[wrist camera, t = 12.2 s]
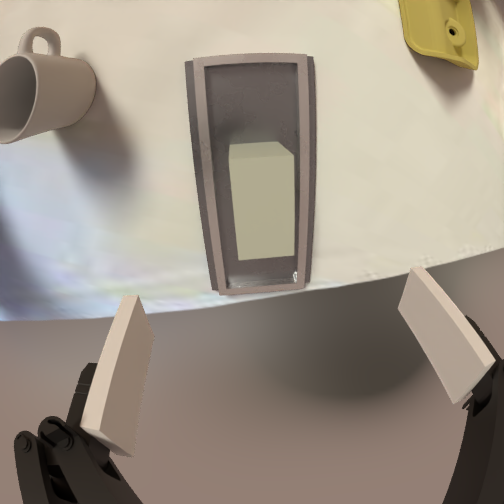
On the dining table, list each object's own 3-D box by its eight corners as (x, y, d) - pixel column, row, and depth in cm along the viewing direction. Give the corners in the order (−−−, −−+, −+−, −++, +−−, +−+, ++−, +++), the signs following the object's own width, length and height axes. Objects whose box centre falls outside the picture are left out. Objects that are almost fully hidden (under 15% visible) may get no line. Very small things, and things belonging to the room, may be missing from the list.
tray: (212, 286, 37) (211, 296, 35) (186, 62, 23) (182, 60, 21) (307, 278, 37) (311, 287, 36) (311, 57, 23) (316, 55, 21)
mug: (97, 120, 25) (40, 134, 15) (43, 132, 24) (-16, 153, 14) (100, 25, 18) (48, 4, 9) (44, 45, 18) (-14, 40, 8)
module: (237, 225, 32) (238, 263, 25) (229, 144, 27) (228, 159, 20) (280, 221, 32) (294, 258, 25) (277, 141, 27) (293, 155, 20)
